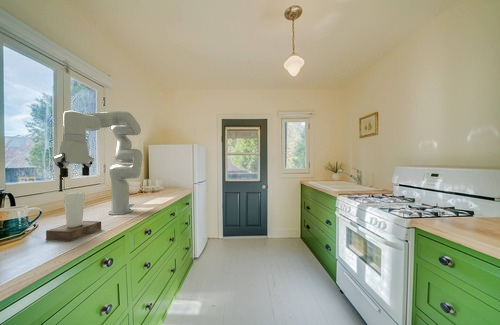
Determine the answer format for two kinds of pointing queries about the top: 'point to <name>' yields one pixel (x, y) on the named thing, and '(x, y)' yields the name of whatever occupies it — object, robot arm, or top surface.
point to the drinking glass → (74, 208)
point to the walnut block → (73, 231)
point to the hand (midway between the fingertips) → (75, 176)
